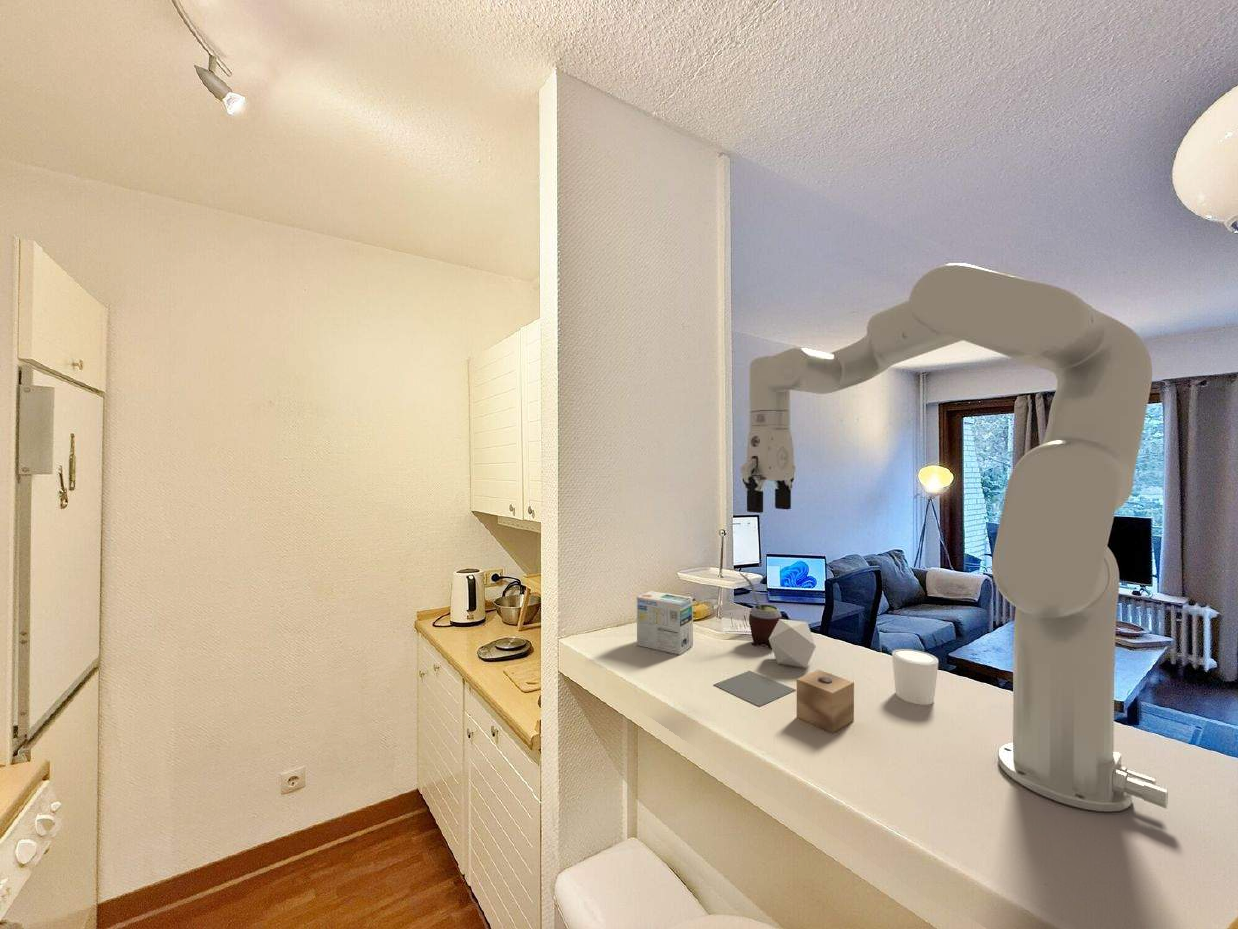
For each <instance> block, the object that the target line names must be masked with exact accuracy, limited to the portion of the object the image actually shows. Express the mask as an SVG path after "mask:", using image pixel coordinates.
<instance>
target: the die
mask: <svg viewBox="0 0 1238 929" xmlns="http://www.w3.org/2000/svg"><path fill="white" fill-rule="evenodd" d="M769 642H770V644H771V647H772V649H771V651H772V652H773V654H774V658H775V660H776V662H777V663H776V664H778V665H784V666H791V667H798V668H803V669H804V668H805V669H807V667H808V664H809V662H810V660H811V659H812V656H813V654H814V652H815V649H816V647H817V646H816V644H815V639H814V638H813V635H812V631H811V629H810V627H809V624H808V622H807V621H800V620H799V621H798V620H792V619H791V620H790V619H785V618H784V619H783V618H782V619H779V621H778V623H777V624H776V626H775V628H774V630H773V632H772V634H771V636H770V637H769Z"/></svg>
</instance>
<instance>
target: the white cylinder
mask: <svg viewBox="0 0 1238 929" xmlns="http://www.w3.org/2000/svg"><path fill="white" fill-rule="evenodd" d="M891 656H892V657H891V658H892V667H893V669H892V670H893V677H894V687H895V689H894V690H895V695H896V696H897V698H899V699H900V700H902V701H905V702H907V703H910V704H914V705H919V706H920V705H922V706H923V705H924V706H929V705H932V704H933V703H934V702H935V695H936V686H937V677H938V670H939V659H938V657H936V656H935V655H933V654H930V653H928V652H925V651H921V650H916V649H911V648H909V649H908V648H907V649H905V648H900V649H894V650H893V651H892V653H891Z"/></svg>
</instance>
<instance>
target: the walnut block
mask: <svg viewBox="0 0 1238 929" xmlns="http://www.w3.org/2000/svg"><path fill="white" fill-rule="evenodd" d="M796 718H798V719H801V720H802V721H805V722H807V723H809V724H811V725H814V726H816V727H818V728H820V729H823V730H824V731H827V732H829V733H830V734H834V733H835V732H837V731H839V730H840V729H842V728H844V727H846V726H848V725H849V724H850V723H852V722H854V721H855V682H854V681H851V680H849V679H846V678H843V677H840V676H837V675H835V674H832V673H828V672H826V671H824V670H821V669H816V670H814V671H812V672H809V673H807V674H806V675H803V676H800V677H797V678H796Z"/></svg>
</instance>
